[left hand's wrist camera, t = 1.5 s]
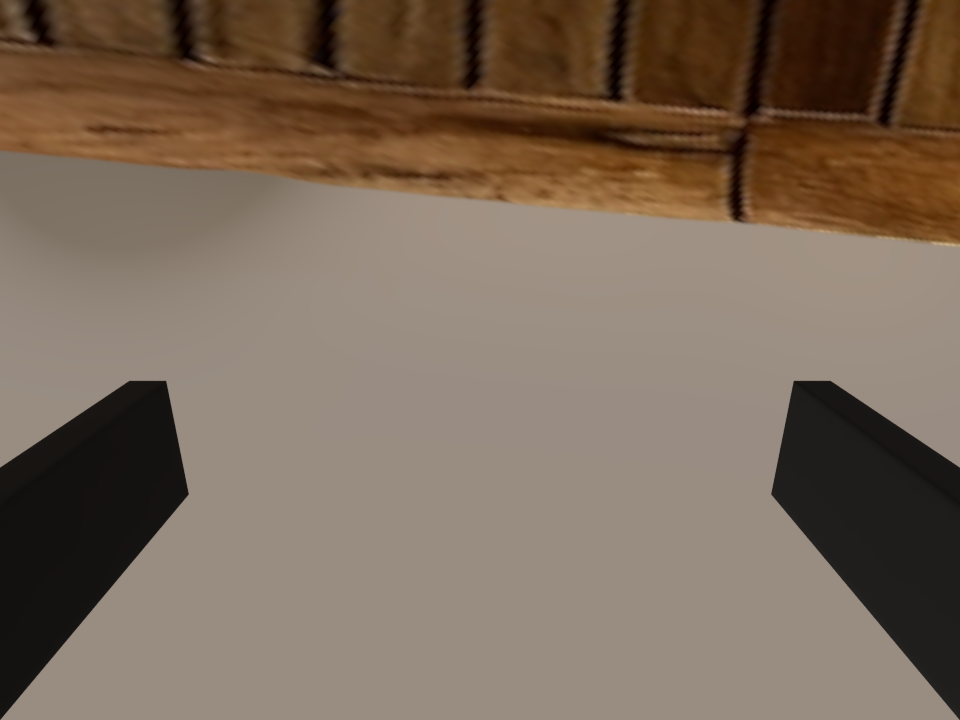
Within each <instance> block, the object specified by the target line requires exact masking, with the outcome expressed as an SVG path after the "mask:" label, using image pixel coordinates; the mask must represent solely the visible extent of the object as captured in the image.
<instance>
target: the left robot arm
mask: <svg viewBox="0 0 960 720" xmlns="http://www.w3.org/2000/svg"><path fill="white" fill-rule="evenodd" d="M188 494H189V493H188V488H187V483H186V478H185V473H184V468H183V463H182V458H181V453H180V448H179V443H178V438H177V433H176V428H175V423H174V418H173V413H172V408H171V403H170V398H169V393H168V388H167V383H166V381H129V382H127V383H126V384H124V385H123V386H121V387H120V388H118V389H117V390H115V391H114V392H112V393H111V394H109V395H108V396H106V397H105V398H103V399H102V400H100V401H99V402H97V403H96V404H94V405H93V406H91V407H90V408H88V409H87V410H85V411H84V412H83V413H81V414H79V415H78V416H76V417H75V418H74V419H72V420H71V421H69V422H68V423H66V424H65V425H63V426H62V427H60V428H59V429H57V430H56V431H54V432H53V433H51V434H50V435H48V436H47V437H45V438H44V439H42V440H41V441H39V442H38V443H36V444H35V445H33V446H32V447H30V448H29V449H27V450H26V451H24V452H23V453H21V454H20V455H18V456H17V457H15V458H14V459H12V460H11V461H9V462H8V463H7V464H5V465H3V466H2V467H0V719H1V718H2V717H3V716H4V715H5V714H6V712H7V711H8V710H9V709H10V708H11V706H12V705H13V704H14V703H15V702H16V700H17V699H18V698H19V697H20V696H21V694H22V693H23V692H24V691H25V690H26V688H27V687H28V686H29V685H30V684H31V682H32V681H33V680H34V679H35V678H36V676H37V675H38V674H39V673H40V672H41V670H42V669H43V668H44V667H45V666H46V664H47V663H48V662H49V661H50V660H51V658H52V657H53V656H54V655H55V654H56V653H57V651H58V650H59V649H60V648H61V647H62V645H63V644H64V643H65V642H66V641H67V639H68V638H69V637H70V636H71V635H72V633H73V632H74V631H75V630H76V629H77V627H78V626H79V625H80V624H81V623H82V621H83V620H84V619H85V618H86V617H87V615H88V614H89V613H90V612H91V611H92V609H93V608H94V607H95V606H96V605H97V603H98V602H99V601H100V600H101V599H102V597H103V596H104V595H105V594H106V593H107V591H108V590H109V589H110V588H111V587H112V586H113V584H114V583H115V582H116V581H117V579H118V578H119V577H120V576H121V575H122V574H123V572H124V571H125V570H126V569H127V568H128V566H129V565H130V564H131V563H132V562H133V560H134V559H135V558H136V557H137V556H138V554H139V553H140V552H141V551H142V550H143V548H144V547H145V546H146V545H147V544H148V542H149V541H150V540H151V539H152V538H153V536H154V535H155V534H156V533H157V532H158V530H159V529H160V528H161V527H162V526H163V525H164V523H165V522H166V521H167V520H168V518H169V517H170V516H171V515H172V514H173V513H174V511H175V510H176V509H177V508H178V507H179V505H180V504H181V503H182V502H183V501H184V499H185V498H186V497H187V496H188ZM771 494H772V496H773V497H774V498H775V499H776V501H777V502H778V503H779V504H780V505H781V507H782V508H783V509H784V510H785V511H786V513H787V514H788V515H789V516H790V517H791V518H792V520H793V521H794V522H795V523H796V524H797V526H798V527H799V528H800V529H801V530H802V532H803V533H804V534H805V535H806V536H807V538H808V539H809V540H810V541H811V542H812V544H813V545H814V546H815V547H816V548H817V550H818V551H819V552H820V553H821V554H822V556H823V557H824V558H825V559H826V560H827V562H828V563H829V564H830V565H831V566H832V568H833V569H834V570H835V571H836V572H837V574H838V575H839V576H840V577H841V578H842V580H843V581H844V582H845V583H846V584H847V586H848V587H849V588H850V589H851V590H852V592H853V593H854V594H855V595H856V596H857V597H858V599H859V600H860V601H861V602H862V603H863V605H864V606H865V607H866V608H867V609H868V611H869V612H870V613H871V614H872V615H873V617H874V618H875V619H876V620H877V621H878V623H879V624H880V625H881V626H882V627H883V629H884V630H885V631H886V632H887V633H888V635H889V636H890V637H891V638H892V639H893V641H894V642H895V643H896V644H897V645H898V646H899V648H900V649H901V650H902V651H903V653H904V654H905V655H906V656H907V657H908V658H909V660H910V661H911V662H912V663H913V664H914V666H915V667H916V668H917V669H918V670H919V672H920V673H921V674H922V675H923V676H924V678H925V679H926V680H927V681H928V682H929V684H930V685H931V686H932V687H933V688H934V690H935V691H936V692H937V693H938V694H939V696H940V697H941V698H942V699H943V700H944V702H945V703H946V704H947V705H948V706H949V708H950V709H951V710H952V711H953V712H954V714H955V715H956V716H957V717H958V718H959V719H960V468H959V467H958V466H957V465H955V464H954V463H952V462H951V461H949V460H948V459H946V458H945V457H943V456H942V455H940V454H939V453H937V452H936V451H934V450H933V449H931V448H930V447H928V446H927V445H925V444H924V443H922V442H921V441H919V440H918V439H916V438H915V437H913V436H912V435H910V434H909V433H907V432H906V431H904V430H903V429H901V428H900V427H898V426H897V425H895V424H894V423H892V422H891V421H889V420H888V419H886V418H885V417H883V416H882V415H881V414H879V413H878V412H876V411H874V410H873V409H872V408H870V407H869V406H867V405H866V404H864V403H863V402H861V401H860V400H858V399H857V398H855V397H854V396H852V395H851V394H849V393H848V392H846V391H845V390H843V389H842V388H840V387H839V386H837V385H836V384H834V383H833V382H831V381H794V383H793V388H792V393H791V398H790V403H789V408H788V413H787V418H786V423H785V428H784V433H783V438H782V443H781V448H780V453H779V458H778V463H777V468H776V473H775V478H774V483H773V488H772V493H771Z"/></svg>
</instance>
